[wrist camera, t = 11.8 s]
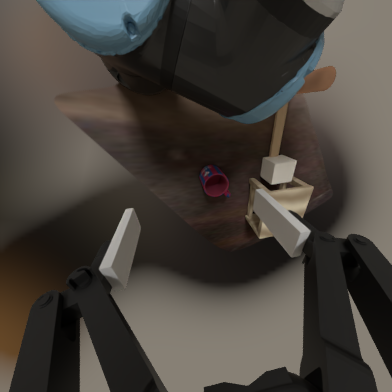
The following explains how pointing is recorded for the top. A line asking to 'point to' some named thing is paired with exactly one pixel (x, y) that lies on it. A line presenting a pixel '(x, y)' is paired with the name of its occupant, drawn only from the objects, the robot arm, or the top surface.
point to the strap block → (279, 164)
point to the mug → (214, 181)
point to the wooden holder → (287, 198)
